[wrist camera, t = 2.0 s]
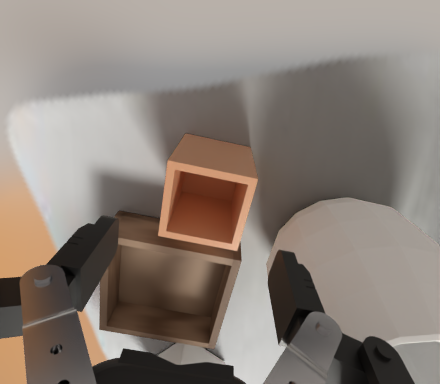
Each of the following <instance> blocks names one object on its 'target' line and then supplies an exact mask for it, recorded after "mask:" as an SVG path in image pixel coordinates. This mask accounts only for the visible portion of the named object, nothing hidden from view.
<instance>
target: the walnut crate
mask: <svg viewBox="0 0 440 384" xmlns="http://www.w3.org/2000/svg"><path fill="white" fill-rule="evenodd" d="M114 218H118V219H119V235H118V247H117V251H116V254H115V256H114V258H113V259H112V261H111V263H110V265H109V266H108V268H107V270H106V271H105V273H104V275H103V276H102V278H101V280H100V327H99V330H105V331H111V332H117V333H122V334H128V335H134V336H140V337H146V338H152V339H158V340H164V341H169V342H175V343H181V344H187V345H193V346H199V347H205V348H211V349H214V348H215V345H216V342H217V339H218V335H219V332H220V329H221V326H222V322H223V319H224V316H225V313H226V309H227V306H228V303H229V300H230V297H231V293H232V290H233V287H234V284H235V280H236V277H237V274H238V271H239V267H240V264H241V243H239V247H238V250H237V251H234V250H229V249H224V248H219V247H213V246H208V245H203V244H198V243H192V242H187V241H182V240H177V239H172V238H166V237H161V236H158V232H159V225H160V219H159V218H154V217H149V216H144V215H139V214H134V213H129V212H123V211H118V213H117V214H116V215H115V217H114Z"/></svg>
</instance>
